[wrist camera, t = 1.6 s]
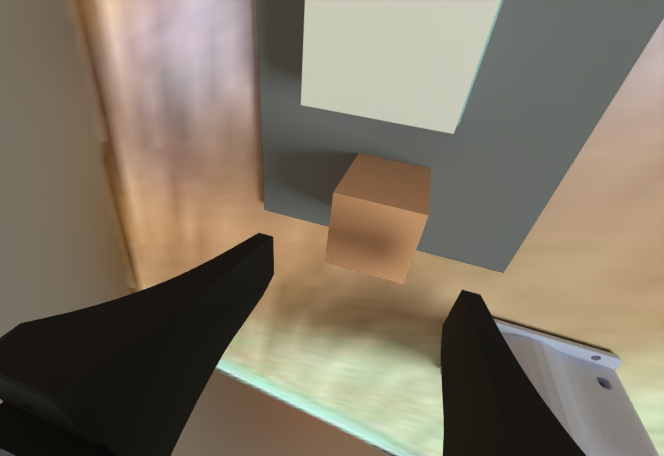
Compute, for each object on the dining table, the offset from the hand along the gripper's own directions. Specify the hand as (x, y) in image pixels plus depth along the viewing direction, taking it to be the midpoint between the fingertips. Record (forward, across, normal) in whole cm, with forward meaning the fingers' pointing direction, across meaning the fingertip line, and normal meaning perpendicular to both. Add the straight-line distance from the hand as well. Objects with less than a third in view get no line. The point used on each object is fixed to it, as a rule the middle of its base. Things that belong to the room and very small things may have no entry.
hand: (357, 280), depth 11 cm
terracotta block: (+8, 0, 0) cm, 8 cm away
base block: (+8, +1, -8) cm, 11 cm away
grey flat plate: (+8, 0, -4) cm, 9 cm away
